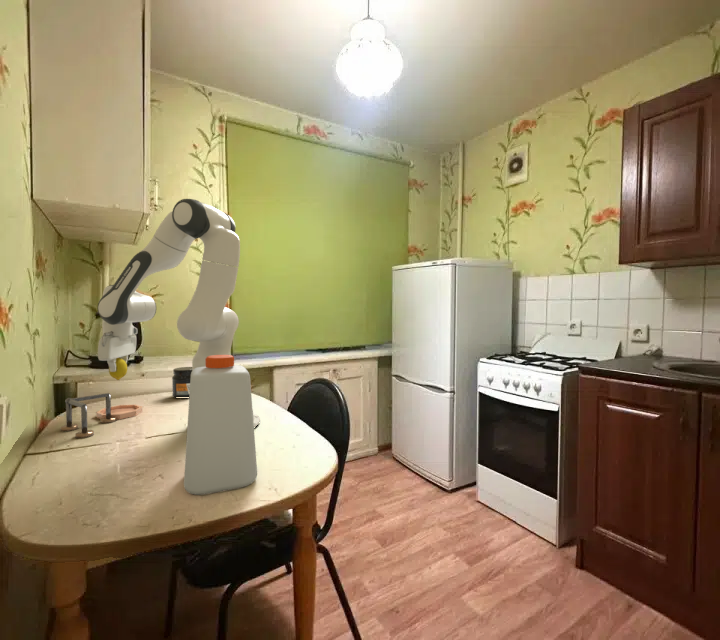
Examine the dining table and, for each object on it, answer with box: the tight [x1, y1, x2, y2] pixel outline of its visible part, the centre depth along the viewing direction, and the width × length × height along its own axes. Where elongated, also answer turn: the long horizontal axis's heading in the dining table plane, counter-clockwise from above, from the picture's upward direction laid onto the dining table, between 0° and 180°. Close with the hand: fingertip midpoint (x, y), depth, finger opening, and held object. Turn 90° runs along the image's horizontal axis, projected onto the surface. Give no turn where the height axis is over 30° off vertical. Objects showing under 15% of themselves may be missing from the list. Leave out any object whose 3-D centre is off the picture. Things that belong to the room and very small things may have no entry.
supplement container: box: [171, 366, 192, 398], centre depth 160 cm, size 10×10×12 cm
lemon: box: [108, 357, 128, 381], centre depth 132 cm, size 6×6×8 cm
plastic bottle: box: [183, 354, 258, 496], centre depth 85 cm, size 15×15×28 cm
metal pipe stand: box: [59, 392, 117, 439], centre depth 118 cm, size 12×18×10 cm
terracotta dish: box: [95, 403, 143, 421], centre depth 133 cm, size 13×13×2 cm
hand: (118, 369), depth 132 cm, fingers closed on lemon, 5 cm apart
